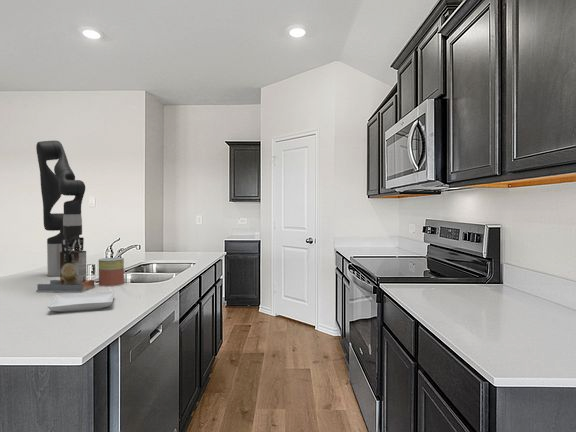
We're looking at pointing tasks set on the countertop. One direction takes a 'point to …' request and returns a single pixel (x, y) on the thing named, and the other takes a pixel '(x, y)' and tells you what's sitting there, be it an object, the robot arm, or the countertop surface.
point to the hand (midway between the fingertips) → (73, 261)
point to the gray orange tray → (65, 287)
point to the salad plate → (81, 301)
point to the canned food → (111, 271)
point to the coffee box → (73, 268)
